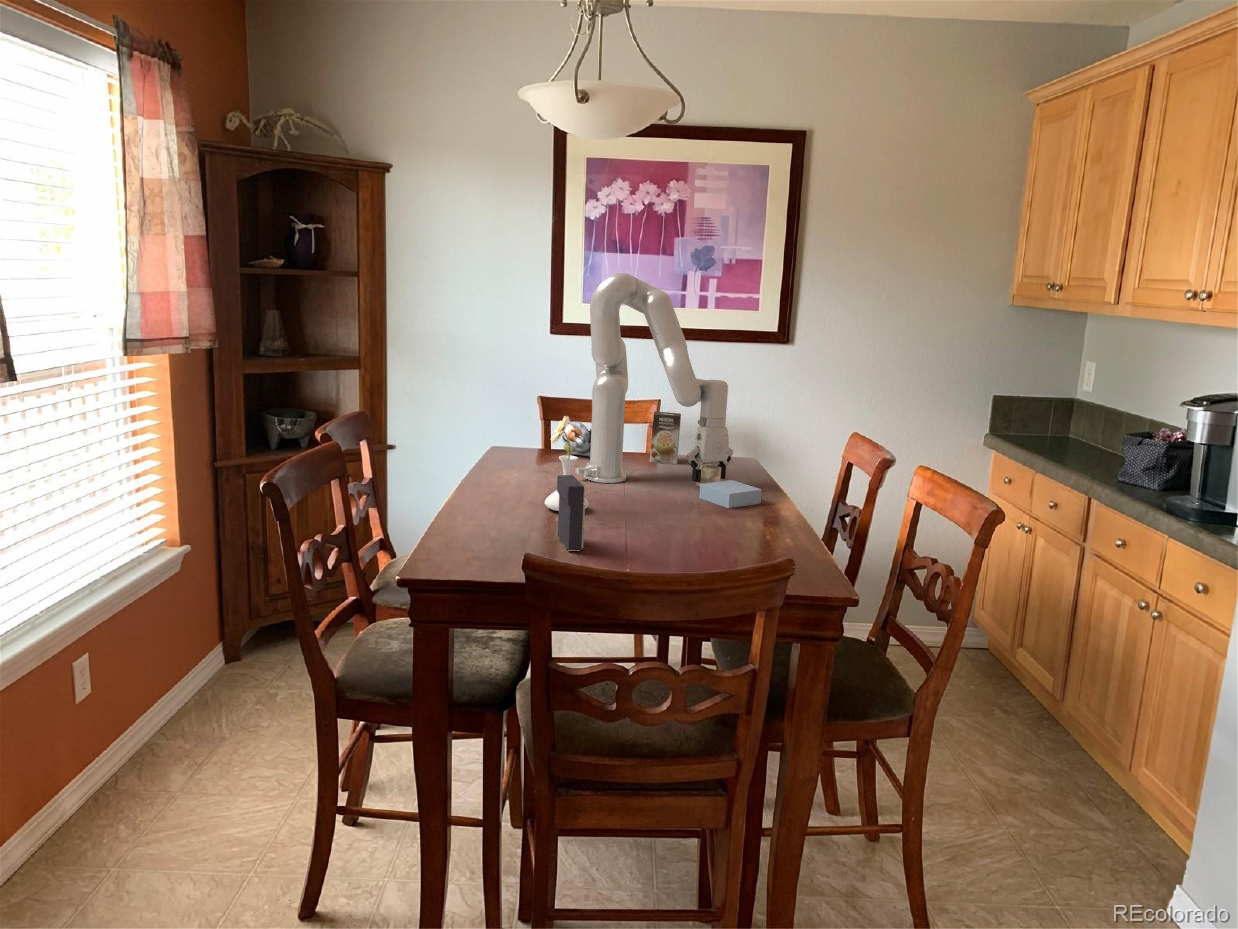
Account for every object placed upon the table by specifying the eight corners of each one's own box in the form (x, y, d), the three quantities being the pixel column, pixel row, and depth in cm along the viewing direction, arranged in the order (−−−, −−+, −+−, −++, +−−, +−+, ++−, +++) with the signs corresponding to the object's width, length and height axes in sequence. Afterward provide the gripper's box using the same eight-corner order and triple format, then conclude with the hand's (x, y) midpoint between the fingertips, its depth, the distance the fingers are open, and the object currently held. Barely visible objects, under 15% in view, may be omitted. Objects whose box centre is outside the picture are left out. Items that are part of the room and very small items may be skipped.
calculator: (584, 552, 201) (587, 486, 198) (565, 552, 200) (568, 486, 197) (572, 537, 211) (575, 474, 208) (554, 538, 210) (557, 474, 207)
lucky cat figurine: (610, 458, 300) (599, 423, 292) (576, 472, 298) (564, 438, 290) (595, 436, 312) (585, 403, 304) (563, 450, 310) (551, 417, 302)
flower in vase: (551, 502, 241) (554, 408, 236) (593, 506, 239) (597, 412, 234) (536, 514, 229) (540, 416, 223) (580, 519, 227) (585, 420, 221)
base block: (728, 508, 244) (729, 493, 244) (699, 497, 254) (700, 484, 253) (760, 503, 251) (761, 489, 251) (730, 493, 261) (731, 480, 260)
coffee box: (649, 462, 296) (652, 413, 293) (650, 458, 303) (653, 410, 299) (677, 464, 295) (680, 415, 292) (678, 460, 302) (681, 412, 298)
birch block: (706, 488, 265) (708, 468, 264) (695, 485, 269) (697, 465, 268) (719, 487, 268) (721, 467, 267) (708, 483, 272) (709, 463, 271)
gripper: (698, 426, 257) (694, 485, 260) (743, 423, 267) (738, 479, 270) (681, 422, 263) (677, 480, 266) (725, 418, 273) (721, 474, 276)
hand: (708, 480), depth 268 cm, fingers open, 9 cm apart
